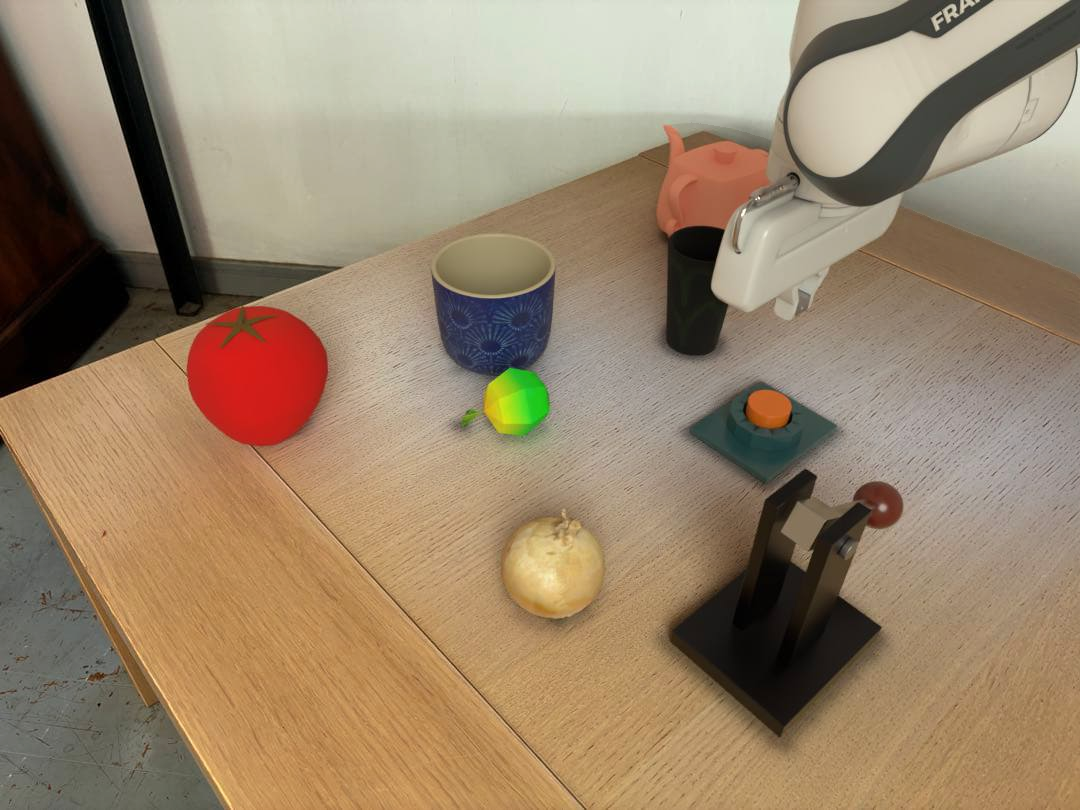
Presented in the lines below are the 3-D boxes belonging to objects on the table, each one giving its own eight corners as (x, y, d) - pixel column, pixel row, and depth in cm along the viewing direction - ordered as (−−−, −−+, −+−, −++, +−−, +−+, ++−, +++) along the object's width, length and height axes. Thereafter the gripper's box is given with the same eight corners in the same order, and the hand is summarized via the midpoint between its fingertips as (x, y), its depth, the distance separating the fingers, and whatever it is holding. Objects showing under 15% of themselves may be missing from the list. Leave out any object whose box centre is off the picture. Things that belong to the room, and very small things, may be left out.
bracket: (768, 558, 68) (807, 423, 58) (877, 638, 62) (940, 503, 52) (669, 641, 62) (694, 506, 52) (779, 738, 56) (831, 606, 46)
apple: (548, 352, 77) (458, 379, 73) (571, 417, 76) (481, 446, 73) (525, 371, 83) (441, 395, 80) (546, 430, 83) (463, 457, 79)
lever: (854, 509, 65) (876, 470, 64) (895, 535, 63) (919, 496, 62) (766, 533, 54) (792, 487, 53) (813, 566, 52) (840, 519, 51)
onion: (595, 640, 62) (601, 581, 57) (491, 624, 63) (488, 565, 58) (607, 557, 68) (613, 498, 63) (512, 544, 69) (511, 484, 64)
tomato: (204, 478, 74) (164, 366, 66) (208, 397, 83) (173, 290, 75) (343, 453, 77) (321, 343, 69) (333, 377, 85) (312, 272, 77)
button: (762, 396, 80) (765, 384, 79) (797, 417, 78) (800, 404, 77) (736, 414, 78) (739, 401, 77) (771, 435, 76) (774, 423, 75)
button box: (760, 386, 85) (764, 366, 83) (835, 430, 80) (842, 411, 78) (689, 433, 79) (692, 413, 78) (765, 484, 74) (770, 464, 73)
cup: (736, 358, 88) (756, 259, 81) (667, 365, 87) (681, 266, 80) (713, 318, 94) (729, 222, 87) (648, 323, 93) (659, 227, 86)
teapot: (654, 207, 115) (664, 117, 107) (776, 219, 112) (796, 128, 104) (643, 261, 104) (653, 165, 96) (778, 276, 101) (800, 179, 93)
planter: (461, 400, 83) (455, 308, 76) (423, 333, 91) (414, 246, 84) (573, 369, 87) (576, 280, 80) (526, 308, 95) (525, 223, 88)
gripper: (779, 215, 55) (744, 378, 64) (938, 135, 65) (888, 286, 74) (705, 182, 58) (682, 342, 67) (867, 112, 69) (827, 258, 78)
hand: (791, 312), depth 71 cm, fingers closed
